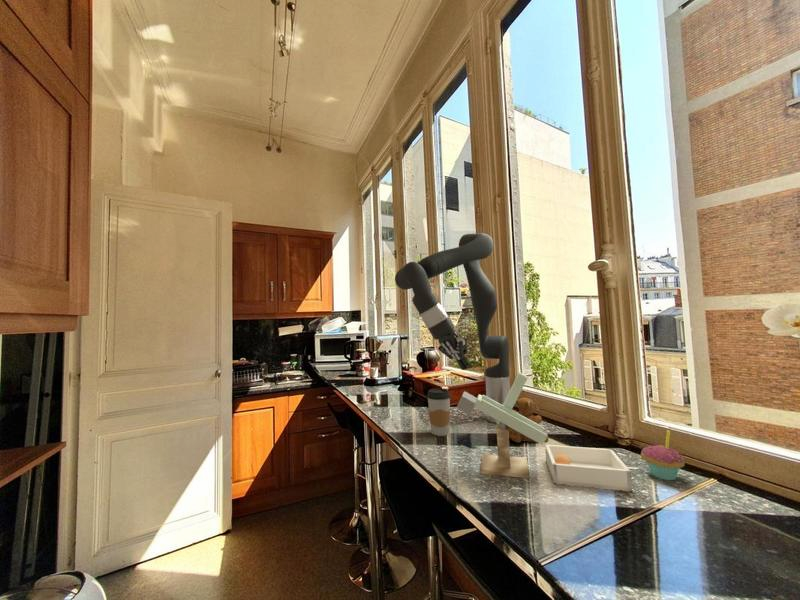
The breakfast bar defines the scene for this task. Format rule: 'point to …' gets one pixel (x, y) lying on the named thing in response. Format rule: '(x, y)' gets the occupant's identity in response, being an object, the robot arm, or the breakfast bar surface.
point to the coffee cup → (439, 411)
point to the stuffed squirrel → (526, 410)
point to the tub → (588, 468)
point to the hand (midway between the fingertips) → (466, 368)
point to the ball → (562, 460)
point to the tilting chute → (505, 411)
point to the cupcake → (663, 460)
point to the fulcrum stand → (504, 459)
